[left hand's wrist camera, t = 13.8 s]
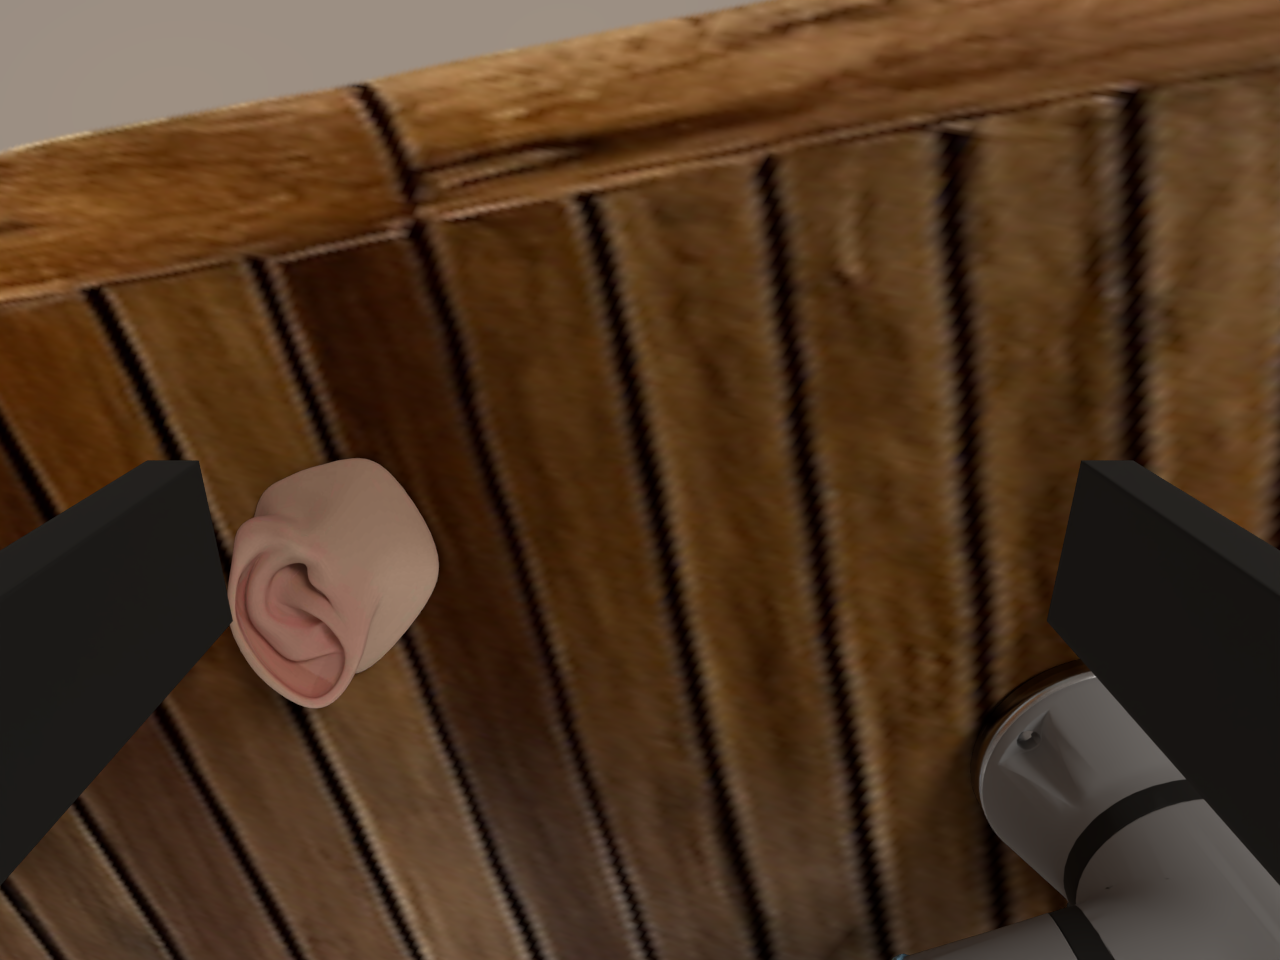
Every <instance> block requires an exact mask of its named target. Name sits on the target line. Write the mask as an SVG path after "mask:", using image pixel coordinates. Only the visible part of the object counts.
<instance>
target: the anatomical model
mask: <svg viewBox="0 0 1280 960" xmlns="http://www.w3.org/2000/svg"><path fill="white" fill-rule="evenodd" d="M438 571H439V562H438V554H437V550H436V546H435V544H434V541H433V538H432V535H431V533H430V531H429V529H428V527H427V525H426V523H425V521H424V519H423V517H422V516H421V514H420V512H419V511H418V509H417V508H416V506H415V504H414V503H413V501H412V500H411V499H410V497H409V496H408V494H407V493H406V492H405V490H404V489H403V488H402V486H401V485H400V484H399V483H398V482H397V480H396V479H395V478H394V477H393V476H392V475H391V474H390V473H389V472H388V471H387V470H386V469H385V468H383V467H382V466H381V465H379V464H377V463H376V462H374V461H371V460H368V459H362V458H352V459H345V460H338V461H334V462H330V463H327V464H323V465H319V466H315V467H311V468H308V469H305V470H302V471H299V472H297V473H295V474H293V475H291V476H289V477H286V478H284V479H282V480H280V481H278V482H276V483H274V484H273V485H271V486H270V487H269V488H268V489H267V490H266V491H265V492H264V493H263V494H262V496H261V498H260V500H259V502H258V505H257V508H256V512H255V516H254V518H251V519H249V520H247V521H246V522H245V523H243V524H242V525H241V526H240V528H239V529H238V531H237V534H236V536H235V542H234V549H233V557H232V564H231V571H230V577H229V583H228V593H227V595H228V600H229V604H230V609H231V614H232V618H233V622H232V623H231V624H230V627H231V630H232V633H233V636H234V638H235V640H236V642H237V644H238V646H239V648H240V650H241V652H242V654H243V655H244V657H245V659H246V660H247V662H248V663H249V664H250V666H251V667H252V668H253V670H254V671H255V672H256V673H257V674H258V676H259V677H260V678H261V679H262V680H263V681H264V682H266V683H267V684H268V685H269V686H270V687H271V688H273V689H274V690H275V691H277V692H278V693H279V694H281V695H282V696H284V697H285V698H287V699H289V700H291V701H292V702H294V703H296V704H299V705H301V706H304V707H308V708H322V707H325V706H327V705H329V704H331V703H333V702H334V701H335V700H336V699H337V698H338V697H339V696H340V695H341V694H342V693H343V692H344V691H345V689H346V688H347V686H348V685H349V683H350V682H351V680H352V678H353V676H354V675H355V673H359V672H362V671H364V670H366V669H367V668H369V667H371V666H372V665H373V664H375V663H376V662H377V661H378V660H379V659H381V658H382V657H383V656H384V655H385V654H386V653H387V652H388V651H389V650H390V649H391V648H392V647H393V646H394V644H395V643H396V642H397V641H398V640H399V639H400V638H401V636H402V635H403V634H404V633H405V632H406V630H407V629H408V628H409V627H410V625H411V624H412V623H413V621H414V620H415V619H416V617H417V616H418V615H419V613H420V612H421V610H422V609H423V607H424V606H425V604H426V602H427V601H428V599H429V597H430V596H431V594H432V591H433V589H434V587H435V585H436V581H437V578H438Z"/></svg>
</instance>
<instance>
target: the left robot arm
mask: <svg viewBox="0 0 1280 960" xmlns="http://www.w3.org/2000/svg"><path fill="white" fill-rule="evenodd" d="M232 622H233V618H232V614H231V609H230V604H229V600H228V595H227V590H226V586H225V581H224V576H223V572H222V567H221V562H220V558H219V553H218V548H217V544H216V539H215V534H214V530H213V525H212V520H211V516H210V511H209V506H208V502H207V497H206V492H205V488H204V483H203V478H202V474H201V469H200V464H199V461H146V462H144V463H142V464H141V465H139V466H138V467H136V468H134V469H133V470H131V471H129V472H128V473H126V474H124V475H123V476H121V477H120V478H118V479H116V480H115V481H113V482H111V483H110V484H108V485H107V486H105V487H103V488H102V489H100V490H98V491H97V492H95V493H93V494H92V495H90V496H89V497H87V498H85V499H84V500H82V501H80V502H79V503H77V504H76V505H74V506H72V507H71V508H69V509H67V510H66V511H64V512H62V513H61V514H59V515H58V516H56V517H54V518H53V519H51V520H49V521H48V522H46V523H45V524H43V525H41V526H40V527H38V528H36V529H35V530H33V531H32V532H30V533H28V534H27V535H25V536H23V537H22V538H20V539H18V540H17V541H15V542H14V543H12V544H10V545H9V546H7V547H5V548H4V549H2V550H1V551H0V885H1V884H2V883H3V882H4V881H5V880H6V879H7V877H8V876H9V875H10V874H11V873H12V872H13V871H14V869H15V868H16V867H17V866H18V865H19V864H20V863H21V861H22V860H23V859H24V858H25V857H26V856H27V855H28V854H29V852H30V851H31V850H32V849H33V848H34V847H35V846H36V844H37V843H38V842H39V841H40V840H41V839H42V838H43V836H44V835H45V834H46V833H47V832H48V831H49V830H50V829H51V827H52V826H53V825H54V824H55V823H56V822H57V821H58V819H59V818H60V817H61V816H62V815H63V814H64V813H65V811H66V810H67V809H68V808H69V807H70V806H71V805H72V804H73V802H74V801H75V800H76V799H77V798H78V797H79V796H80V794H81V793H82V792H83V791H84V790H85V789H86V788H87V786H88V785H89V784H90V783H91V782H92V781H93V780H94V778H95V777H96V776H97V775H98V774H99V773H100V772H101V771H102V769H103V768H104V767H105V766H106V765H107V764H108V763H109V761H110V760H111V759H112V758H113V757H114V756H115V755H116V753H117V752H118V751H119V750H120V749H121V748H122V747H123V746H124V744H125V743H126V742H127V741H128V740H129V739H130V738H131V736H132V735H133V734H134V733H135V732H136V731H137V730H138V728H139V727H140V726H141V725H142V724H143V723H144V722H145V721H146V719H147V718H148V717H149V716H150V715H151V714H152V713H153V711H154V710H155V709H156V708H157V707H158V706H159V705H160V703H161V702H162V701H163V700H164V699H165V698H166V697H167V696H168V694H169V693H170V692H171V691H172V690H173V689H174V688H175V686H176V685H177V684H178V683H179V682H180V681H181V680H182V678H183V677H184V676H185V675H186V674H187V673H188V672H189V671H190V669H191V668H192V667H193V666H194V665H195V664H196V663H197V661H198V660H199V659H200V658H201V657H202V656H203V655H204V653H205V652H206V651H207V650H208V649H209V648H210V647H211V645H212V644H213V643H214V642H215V641H216V640H217V639H218V638H219V636H220V635H221V634H222V633H223V632H224V631H225V630H226V628H227V627H228V626H229V625H230V624H231V623H232ZM1047 622H1048V623H1049V624H1050V625H1051V626H1052V627H1053V628H1054V630H1055V631H1056V632H1057V633H1058V634H1059V635H1060V636H1061V638H1062V639H1063V640H1064V641H1065V642H1066V643H1067V644H1068V645H1069V647H1070V648H1071V649H1072V650H1073V651H1074V652H1075V653H1076V655H1077V656H1078V657H1079V658H1080V659H1079V660H1075V661H1071V662H1068V663H1065V664H1062V665H1059V666H1057V667H1054V668H1052V669H1050V670H1047V671H1045V672H1044V673H1042V674H1040V675H1038V676H1036V677H1034V678H1033V679H1031V680H1029V681H1028V682H1026V683H1025V684H1023V685H1022V686H1020V687H1019V688H1018V689H1016V690H1015V691H1014V692H1013V693H1012V694H1010V695H1009V696H1008V697H1007V698H1006V699H1005V700H1004V701H1003V702H1002V703H1001V704H1000V705H999V706H998V707H997V708H996V709H995V711H994V712H993V713H992V714H991V716H990V717H989V718H988V720H987V721H986V723H985V724H984V726H983V728H982V730H981V732H980V734H979V736H978V738H977V741H976V743H975V746H974V750H973V753H972V759H971V771H970V772H971V782H972V787H973V791H974V794H975V796H976V799H977V801H978V803H979V805H980V807H981V808H982V810H983V812H984V814H985V816H986V818H987V820H988V822H989V824H990V826H991V827H992V829H993V830H994V832H995V833H996V834H997V835H998V837H999V838H1000V839H1001V840H1002V841H1003V842H1004V843H1005V844H1007V845H1008V846H1009V847H1010V848H1011V849H1012V850H1013V851H1014V852H1016V853H1017V854H1018V855H1019V856H1020V857H1021V858H1022V859H1023V860H1024V861H1025V862H1027V863H1028V864H1029V865H1030V866H1031V867H1032V868H1033V869H1034V870H1035V871H1036V872H1038V873H1039V874H1040V875H1041V876H1042V877H1043V878H1044V879H1045V880H1046V881H1048V882H1049V883H1050V884H1051V885H1052V886H1053V887H1054V888H1055V889H1056V890H1057V891H1059V892H1060V893H1061V894H1062V895H1063V896H1064V897H1065V898H1066V899H1067V900H1068V904H1067V908H1064V909H1060V910H1057V911H1054V912H1051V913H1048V914H1047V913H1046V914H1043V915H1040V916H1037V917H1034V918H1031V919H1027V920H1024V921H1021V922H1018V923H1015V924H1012V925H1009V926H1005V927H1002V928H999V929H996V930H992V931H989V932H986V933H982V934H979V935H976V936H972V937H969V938H966V939H962V940H959V941H956V942H952V943H949V944H946V945H942V946H939V947H936V948H932V949H929V950H926V951H922V952H919V953H916V954H912V955H906V954H900V955H897V956H895V957H894V958H893V959H892V960H1280V551H1279V550H1278V549H1276V548H1275V547H1273V546H1271V545H1270V544H1268V543H1266V542H1265V541H1263V540H1262V539H1260V538H1258V537H1257V536H1255V535H1253V534H1252V533H1250V532H1248V531H1247V530H1245V529H1244V528H1242V527H1240V526H1239V525H1237V524H1235V523H1234V522H1232V521H1231V520H1229V519H1227V518H1226V517H1224V516H1222V515H1221V514H1219V513H1217V512H1216V511H1214V510H1213V509H1211V508H1209V507H1208V506H1206V505H1204V504H1203V503H1201V502H1200V501H1198V500H1196V499H1195V498H1193V497H1191V496H1190V495H1188V494H1187V493H1185V492H1183V491H1182V490H1180V489H1178V488H1177V487H1175V486H1173V485H1172V484H1170V483H1169V482H1167V481H1165V480H1164V479H1162V478H1160V477H1159V476H1157V475H1156V474H1154V473H1152V472H1151V471H1149V470H1147V469H1146V468H1144V467H1142V466H1141V465H1139V464H1138V463H1136V462H1134V461H1081V464H1080V469H1079V474H1078V478H1077V483H1076V488H1075V492H1074V497H1073V502H1072V506H1071V511H1070V516H1069V520H1068V525H1067V530H1066V534H1065V539H1064V544H1063V548H1062V553H1061V558H1060V562H1059V567H1058V572H1057V576H1056V581H1055V586H1054V590H1053V595H1052V600H1051V604H1050V609H1049V614H1048V618H1047Z"/></svg>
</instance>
